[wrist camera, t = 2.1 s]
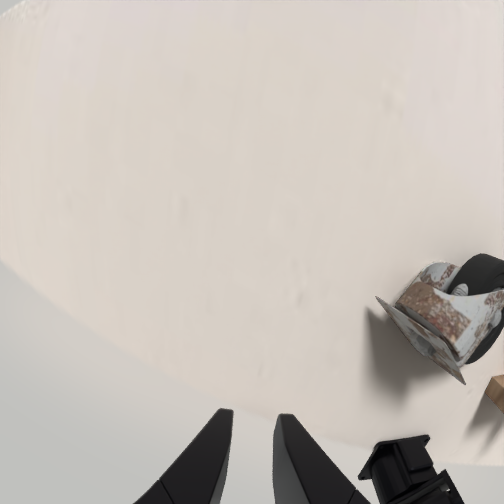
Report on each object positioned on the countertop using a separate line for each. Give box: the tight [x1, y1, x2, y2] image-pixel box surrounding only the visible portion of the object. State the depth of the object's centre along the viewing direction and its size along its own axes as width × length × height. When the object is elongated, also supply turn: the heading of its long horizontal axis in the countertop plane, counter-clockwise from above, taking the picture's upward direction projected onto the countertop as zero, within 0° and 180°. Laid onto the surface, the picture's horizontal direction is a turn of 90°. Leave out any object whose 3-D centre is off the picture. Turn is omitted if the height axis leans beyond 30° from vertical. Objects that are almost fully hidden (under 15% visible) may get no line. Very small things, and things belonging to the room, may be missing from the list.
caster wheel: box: [375, 254, 504, 385], centre depth 17 cm, size 7×11×10 cm
